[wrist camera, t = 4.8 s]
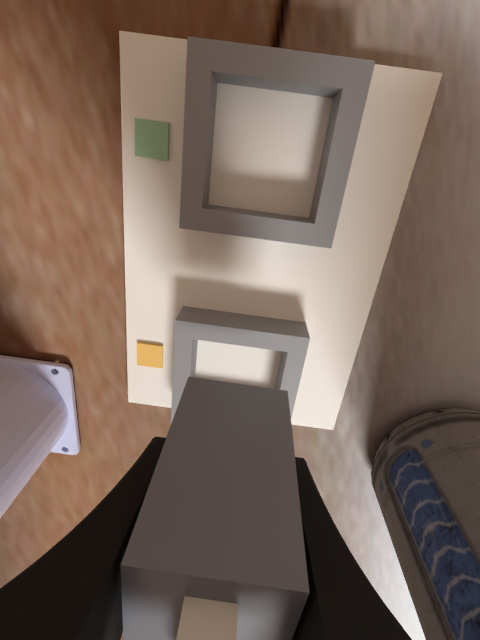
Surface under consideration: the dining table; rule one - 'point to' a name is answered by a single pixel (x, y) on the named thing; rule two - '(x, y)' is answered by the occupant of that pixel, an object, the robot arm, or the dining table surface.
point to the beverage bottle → (435, 516)
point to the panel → (258, 212)
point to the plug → (219, 523)
